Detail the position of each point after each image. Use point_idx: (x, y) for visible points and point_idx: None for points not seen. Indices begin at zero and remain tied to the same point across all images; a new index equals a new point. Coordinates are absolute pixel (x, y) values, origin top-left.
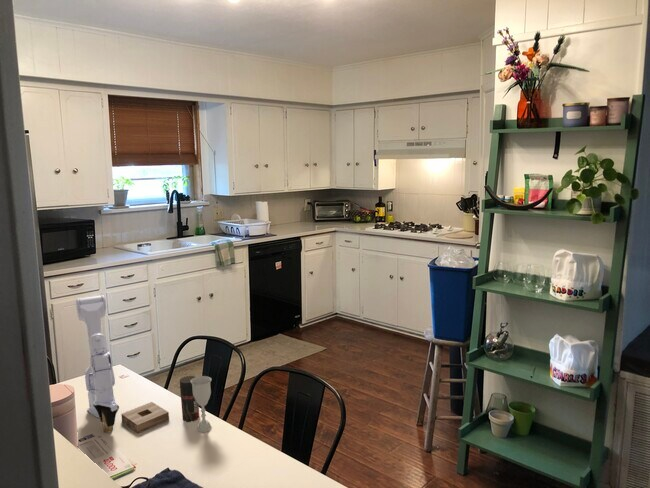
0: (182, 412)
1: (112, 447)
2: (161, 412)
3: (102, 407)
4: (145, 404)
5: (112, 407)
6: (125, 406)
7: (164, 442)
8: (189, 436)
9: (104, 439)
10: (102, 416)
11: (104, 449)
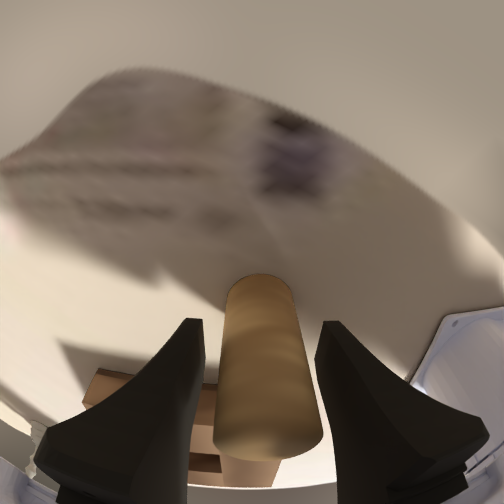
0: None
1: (29, 216)
2: None
3: (361, 454)
4: (272, 478)
5: None
6: None
7: (4, 359)
8: (19, 401)
9: (144, 223)
10: (273, 377)
11: (35, 170)
